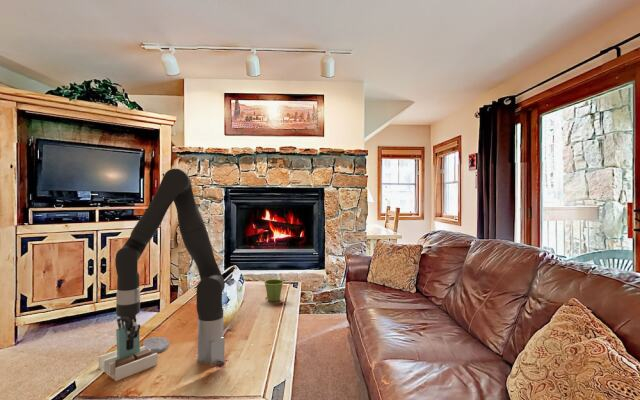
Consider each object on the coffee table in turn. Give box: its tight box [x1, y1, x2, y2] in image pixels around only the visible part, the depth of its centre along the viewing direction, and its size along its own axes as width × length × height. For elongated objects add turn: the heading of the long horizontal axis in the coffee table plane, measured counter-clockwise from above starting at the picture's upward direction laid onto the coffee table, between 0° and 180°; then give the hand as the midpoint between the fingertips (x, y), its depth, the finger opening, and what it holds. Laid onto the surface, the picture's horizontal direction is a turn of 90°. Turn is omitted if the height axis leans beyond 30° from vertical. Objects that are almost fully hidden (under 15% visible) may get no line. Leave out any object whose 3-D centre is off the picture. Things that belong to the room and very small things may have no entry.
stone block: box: [142, 336, 170, 354], centre depth 139 cm, size 12×5×10 cm
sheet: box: [115, 322, 141, 360], centre depth 124 cm, size 2×7×14 cm, turn 144°
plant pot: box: [263, 278, 285, 303], centre depth 207 cm, size 12×12×11 cm
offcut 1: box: [115, 355, 135, 368], centre depth 119 cm, size 3×5×5 cm, turn 143°
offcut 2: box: [134, 349, 153, 361], centre depth 123 cm, size 3×5×5 cm, turn 143°
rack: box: [98, 345, 158, 382], centre depth 124 cm, size 14×14×6 cm
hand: (128, 348), depth 124 cm, fingers closed on sheet, 2 cm apart
